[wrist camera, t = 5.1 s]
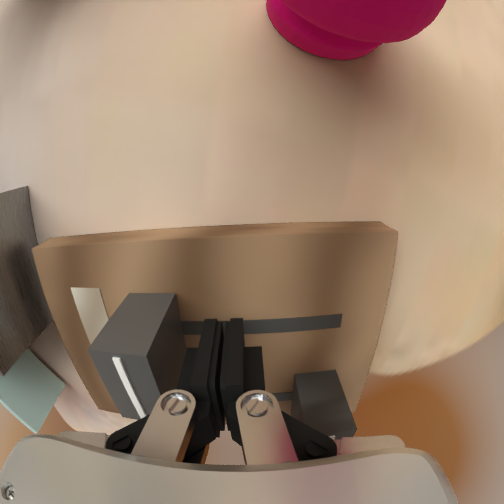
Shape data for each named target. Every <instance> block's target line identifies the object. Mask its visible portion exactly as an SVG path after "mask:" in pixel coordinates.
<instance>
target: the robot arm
mask: <svg viewBox="0 0 504 504" xmlns="http://www.w3.org/2000/svg"><path fill="white" fill-rule="evenodd" d="M225 417H226V422H227V427H228V431H231V436H232V439H233V440H234V441H235V442H237V443H238V444H239V445H240V446H242V451H243V456H244V460H245V465H208V464H205V461H206V457H207V454H208V450H209V443H211V442H212V441H213V440H215V439H216V437H220V436H219V435H220V431H224V430H225ZM0 504H458V501H457V498H456V496H455V494H454V491H453V489H452V487H451V484H450V482H449V480H448V479H447V477H446V475H445V473H444V471H443V470H442V468H441V466H440V465H439V463H438V462H437V461H436V460H435V458H434V457H433V456H432V455H430V454H429V453H427V452H425V451H423V450H419V449H414V448H405V444H404V442H403V441H402V440H401V439H400V438H399V437H397V436H394V435H383V436H370V437H342V438H341V440H335V439H332V438H330V437H329V436H327V435H325V434H323V433H321V432H319V431H317V430H315V429H314V428H312V427H310V426H308V425H306V424H304V423H302V422H301V421H299V420H297V419H295V418H294V417H292V416H290V415H288V414H287V413H285V412H283V411H282V410H280V407H279V404H278V401H277V399H276V397H275V396H274V395H272V394H271V393H269V392H267V391H265V379H264V367H263V355H262V346H253V347H245V339H244V325H243V318H230V322H226V323H225V333H224V331H223V323H222V322H218V319H204V323H203V328H202V332H201V337H200V341H199V346H198V348H190V347H188V348H187V351H186V354H185V358H184V362H183V366H182V370H181V373H180V377H179V381H178V385H177V389H176V390H170V391H168V392H165V393H164V394H163V395H161V396H160V397H159V399H158V400H157V402H156V404H155V406H154V408H153V410H152V412H151V414H149V415H147V416H145V417H143V418H141V419H139V420H138V421H136V422H134V423H132V424H130V425H128V426H126V427H124V428H122V429H120V430H118V431H116V432H114V433H113V434H111V435H107V434H106V433H93V432H77V431H63V432H61V433H59V434H58V435H57V436H54V435H31V436H26V437H24V438H22V439H21V440H20V441H19V442H18V443H17V444H16V445H15V447H14V448H13V450H12V452H11V453H10V454H9V456H8V458H7V460H6V462H5V464H4V466H3V468H2V470H1V472H0Z"/></svg>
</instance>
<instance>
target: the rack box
mask: <svg viewBox="0 0 504 504" xmlns="http://www.w3.org/2000/svg"><path fill="white" fill-rule="evenodd" d="M36 246H37V241H36V236H35V231H34V226H33V220H32V214H31V208H30V201H29V193H28V186H26V187H22V188H18V189H14V190H11V191H7V192H3V193H0V375H1V376H3V377H4V376H5V374H6V373H7V372H8V371H9V369H10V368H11V367H12V366H13V365H14V363H15V362H16V361H17V360H18V359H19V357H20V356H21V355H22V354H23V353H24V352H25V350H26V349H27V348H28V347H29V346H30V345H31V344H32V342H33V341H34V340H35V339H36V338H37V337H38V336H39V335H40V334H41V332H42V331H43V330H44V329H45V328H46V327H47V326H48V325H49V324H50V323H51V322H52V321H53V320H54V319H53V317H52V314H51V311H50V309H49V306H48V303H47V300H46V297H45V294H44V291H43V288H42V285H41V282H40V279H39V275H38V272H37V268H36V265H35V261H34V257H33V253H32V248H34V247H36Z"/></svg>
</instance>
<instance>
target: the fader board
mask: <svg viewBox="0 0 504 504" xmlns="http://www.w3.org/2000/svg"><path fill="white" fill-rule="evenodd" d="M397 239H398V231H396V230H394V229H392V228H391V227H389V226H387V225H385V224H383V223H382V222H307V223H272V224H245V225H222V226H202V227H184V228H168V229H152V230H138V231H125V232H112V233H100V234H88V235H77V236H67V237H56V238H50V239H48V240H46V241H45V242H43V243H41V244H39V245H37V246H36V247H34V248H32V253H33V257H34V261H35V265H36V268H37V272H38V275H39V279H40V282H41V285H42V288H43V291H44V294H45V297H46V300H47V303H48V306H49V309H50V311H51V314H52V317H53V319H54V322H55V324H56V327H57V329H58V332H59V334H60V336H61V339H62V341H63V343H64V345H65V348H66V350H67V352H68V354H69V356H70V358H71V360H72V362H73V364H74V366H75V368H76V370H77V372H78V374H79V376H80V378H81V379H82V381H83V383H84V385H85V387H86V388H87V390H88V392H89V394H90V395H91V397H92V399H93V400H94V402H95V403H96V405H97V407H98V408H99V409H101V410H105V411H110V412H115V413H120V412H119V410H118V408H117V407H116V405H115V403H114V402H113V400H112V398H111V396H110V394H109V392H108V391H107V389H106V387H105V385H104V383H103V381H102V379H101V377H100V375H99V373H98V371H97V369H96V367H95V365H94V363H93V360H92V358H91V356H90V354H89V351H88V348H89V347H90V345H91V344H92V342H93V341H94V340H95V338H96V337H97V335H98V334H99V333H100V331H101V330H102V328H103V327H104V326H105V324H106V323H107V321H108V320H109V319H110V317H111V316H112V315H113V313H114V312H115V311H116V309H117V308H118V307H119V305H120V304H121V303H122V301H123V300H124V299H125V297H126V296H127V295H128V294H129V293H175V294H176V300H177V305H178V310H179V316H180V321H181V326H182V330H183V335H184V340H185V344H186V349H187V348H188V347H190V348H198V346H199V341H200V337H201V332H202V328H203V323H204V319H218V322H222V323H223V331H224V333H225V323H226V322H230V318H243V325H244V339H245V347H253V346H262V355H263V367H264V379H265V391H267V392H269V393H271V394H272V395H274V396H275V397H276V399H277V401H278V404H279V407H280V410H282V411H283V412H285V413H287V414H288V415H290V416H292V417H294V418H295V419H297V420H299V421H301V422H302V423H304V424H306V425H308V426H310V427H312V428H314V429H315V430H317V431H319V432H321V433H323V434H325V435H327V436H329V437H330V438H332V439H335V440H341V438H342V437H353V436H354V434H355V432H356V430H357V428H356V425H355V422H354V419H353V416H352V412H355V410H356V407H357V404H358V402H359V399H360V396H361V393H362V391H363V388H364V385H365V382H366V379H367V376H368V373H369V369H370V366H371V363H372V360H373V356H374V353H375V349H376V346H377V342H378V338H379V335H380V331H381V327H382V322H383V318H384V314H385V309H386V305H387V300H388V295H389V290H390V285H391V279H392V273H393V267H394V261H395V254H396V247H397ZM225 424H227V422H226V417H225Z"/></svg>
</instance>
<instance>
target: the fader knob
mask: <svg viewBox="0 0 504 504" xmlns="http://www.w3.org/2000/svg"><path fill="white" fill-rule="evenodd" d="M88 351H89V354H90V356H91V358H92V360H93V363H94V365H95V367H96V369H97V371H98V373H99V375H100V377H101V379H102V381H103V383H104V385H105V387H106V389H107V391H108V392H109V394H110V396H111V398H112V400H113V402H114V403H115V405H116V407H117V408H118V410H119V412H120V414H121V415H122V417H126V418H131V419H137V420H139V419H141V418H143V417H145V416H147V415H149V414H151V412H152V410H153V408H154V406H155V404H156V402H157V400H158V399H159V397H160V396H161V395H163V394H164V393H165V392H168V391H170V390H176V389H177V385H178V381H179V377H180V373H181V370H182V366H183V362H184V358H185V354H186V351H187V349H186V344H185V340H184V335H183V330H182V326H181V321H180V316H179V310H178V305H177V300H176V294H175V293H129V294H128V295H127V296H126V297H125V299H124V300H123V301H122V303H121V304H120V305H119V307H118V308H117V309H116V311H115V312H114V313H113V315H112V316H111V317H110V319H109V320H108V321H107V323H106V324H105V326H104V327H103V328H102V330H101V331H100V333H99V334H98V335H97V337H96V338H95V340H94V341H93V342H92V344H91V345H90V347H89V348H88Z"/></svg>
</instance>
